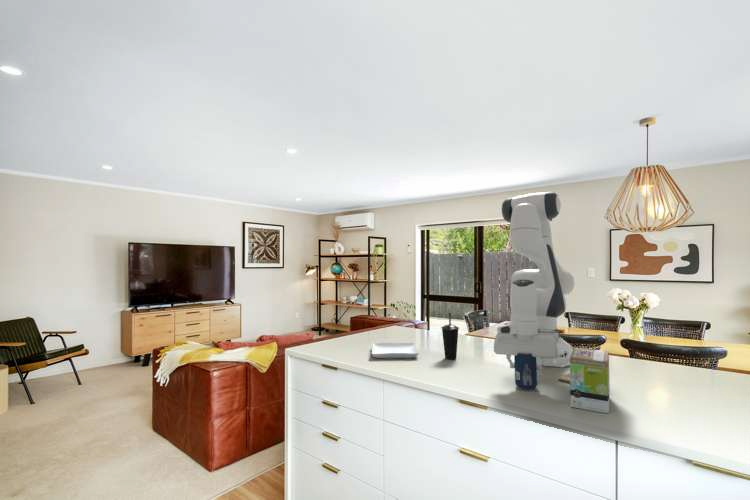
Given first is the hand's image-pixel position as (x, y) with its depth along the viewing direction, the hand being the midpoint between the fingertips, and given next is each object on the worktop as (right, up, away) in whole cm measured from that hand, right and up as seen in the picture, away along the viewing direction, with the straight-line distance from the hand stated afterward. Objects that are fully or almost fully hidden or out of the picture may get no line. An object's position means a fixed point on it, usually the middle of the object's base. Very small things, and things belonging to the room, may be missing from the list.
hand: (525, 369), depth 128 cm
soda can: (0, -6, 0) cm, 6 cm away
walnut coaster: (+21, -6, +6) cm, 23 cm away
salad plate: (-42, -9, +49) cm, 65 cm away
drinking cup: (-18, -8, +39) cm, 44 cm away
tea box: (+14, -6, -14) cm, 21 cm away
